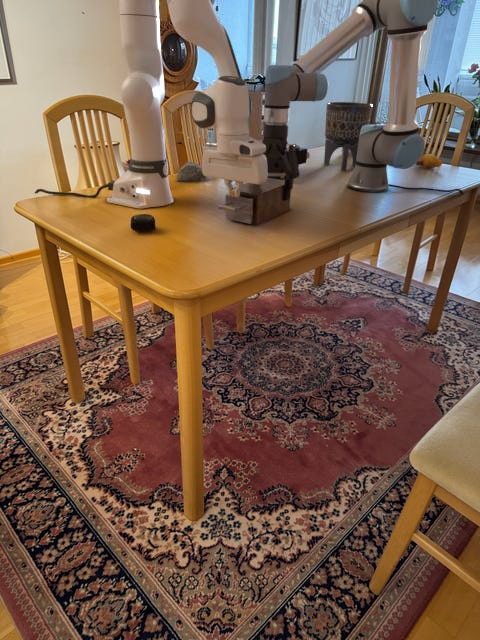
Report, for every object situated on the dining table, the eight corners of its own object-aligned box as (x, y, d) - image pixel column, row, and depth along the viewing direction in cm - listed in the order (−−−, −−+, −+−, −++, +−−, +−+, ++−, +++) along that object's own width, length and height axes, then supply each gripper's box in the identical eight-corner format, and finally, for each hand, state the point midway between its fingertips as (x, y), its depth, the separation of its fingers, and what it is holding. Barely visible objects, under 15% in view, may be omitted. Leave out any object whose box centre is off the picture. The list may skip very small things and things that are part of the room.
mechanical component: (240, 120, 182) (283, 115, 202) (239, 174, 192) (280, 164, 212) (283, 126, 170) (325, 120, 190) (280, 183, 180) (320, 171, 200)
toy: (416, 161, 206) (411, 154, 219) (419, 175, 209) (413, 167, 222) (442, 153, 203) (435, 147, 216) (444, 167, 206) (437, 160, 219)
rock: (201, 174, 189) (200, 158, 186) (213, 179, 184) (213, 162, 180) (174, 179, 182) (173, 162, 178) (186, 184, 176) (186, 167, 173)
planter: (313, 167, 208) (319, 103, 195) (331, 160, 222) (338, 101, 209) (353, 173, 199) (362, 107, 185) (369, 166, 213) (379, 104, 199)
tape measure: (131, 234, 126) (129, 221, 124) (132, 226, 132) (131, 213, 130) (155, 233, 127) (154, 220, 125) (156, 225, 133) (155, 213, 131)
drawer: (238, 229, 129) (239, 204, 126) (213, 222, 134) (213, 198, 130) (282, 209, 147) (283, 187, 143) (258, 204, 151) (259, 182, 148)
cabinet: (256, 225, 136) (257, 194, 131) (228, 218, 140) (229, 189, 136) (289, 209, 150) (291, 181, 145) (263, 204, 155) (264, 177, 150)
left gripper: (195, 143, 125) (198, 193, 132) (258, 149, 115) (258, 203, 122) (209, 139, 130) (211, 188, 136) (271, 146, 119) (270, 198, 126)
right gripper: (238, 121, 140) (236, 193, 151) (303, 128, 129) (297, 205, 140) (251, 119, 145) (249, 188, 156) (315, 125, 134) (308, 200, 145)
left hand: (234, 195), depth 129 cm, fingers closed
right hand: (271, 196), depth 148 cm, fingers closed on cabinet, 10 cm apart
